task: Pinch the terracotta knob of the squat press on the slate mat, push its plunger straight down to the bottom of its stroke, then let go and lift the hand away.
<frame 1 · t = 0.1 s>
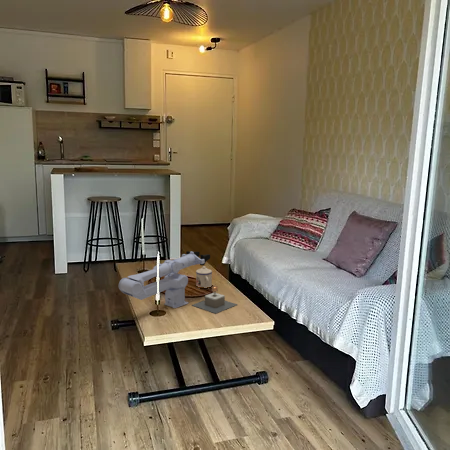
hand: (204, 254, 236), 22 cm above the table, tool horizontal, fingers open, 7 cm apart
teacup with lid: (204, 287, 252), on the table
press: (214, 305, 225), on the table
plunger: (214, 292, 223), point 7 cm above the table, slide at 0.0 cm
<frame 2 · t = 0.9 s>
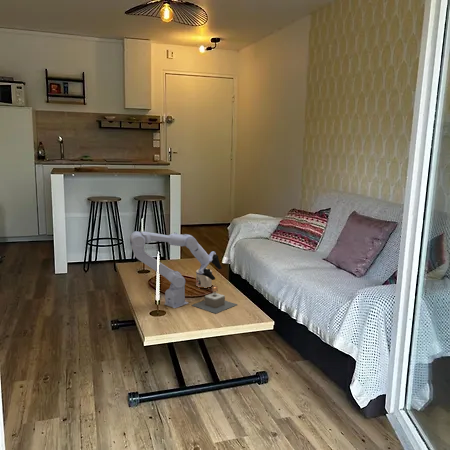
hand: (217, 273, 230), 14 cm above the table, tool tilted 40°, fingers open, 7 cm apart
nothing on the table moved.
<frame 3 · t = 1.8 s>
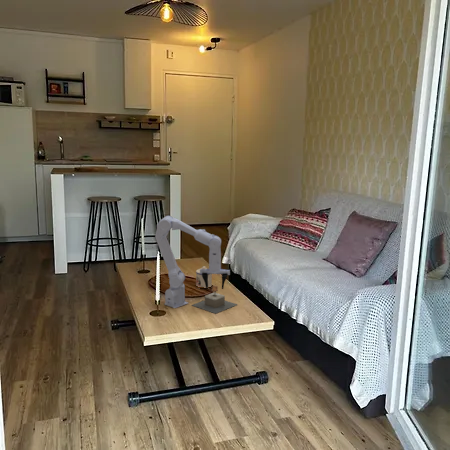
hand: (214, 288, 223), 9 cm above the table, tool pointing down, fingers open, 7 cm apart
nothing on the table moved.
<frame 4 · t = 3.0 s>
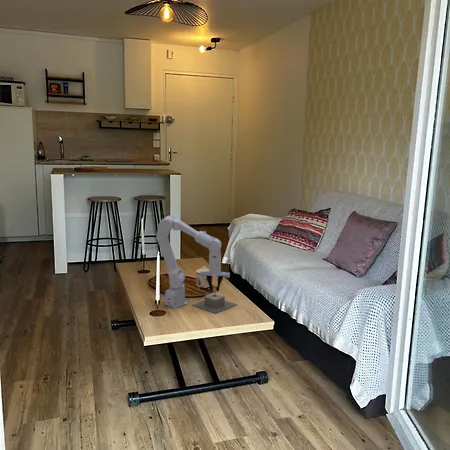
hand: (214, 290, 223), 8 cm above the table, tool pointing down, fingers closed on plunger, 3 cm apart
plunger: (214, 292, 223), point 7 cm above the table, slide at 0.0 cm, touching gripper
everything else where it was.
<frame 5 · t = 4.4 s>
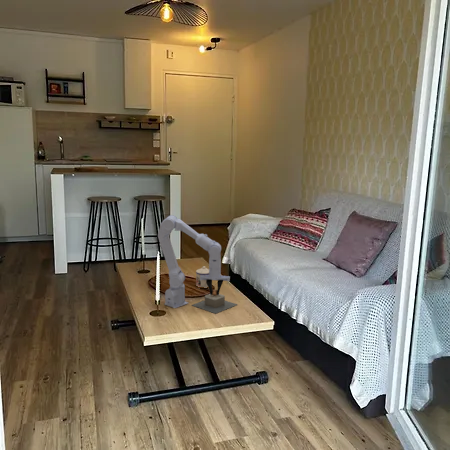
hand: (214, 294, 224), 6 cm above the table, tool pointing down, fingers closed on plunger, 3 cm apart
plunger: (214, 296, 224), point 5 cm above the table, slide at 1.9 cm, touching gripper
everything else where it was.
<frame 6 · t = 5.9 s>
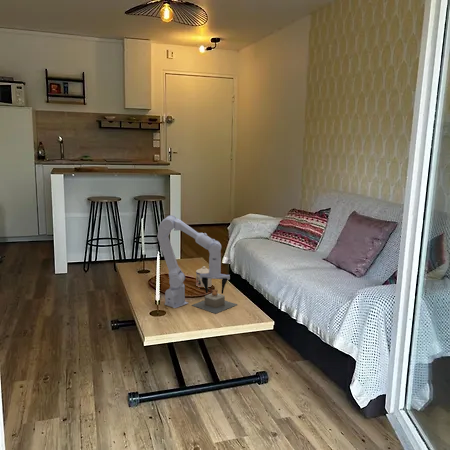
hand: (214, 292, 223), 7 cm above the table, tool pointing down, fingers open, 7 cm apart
plunger: (214, 296, 224), point 5 cm above the table, slide at 1.9 cm
everything else where it was.
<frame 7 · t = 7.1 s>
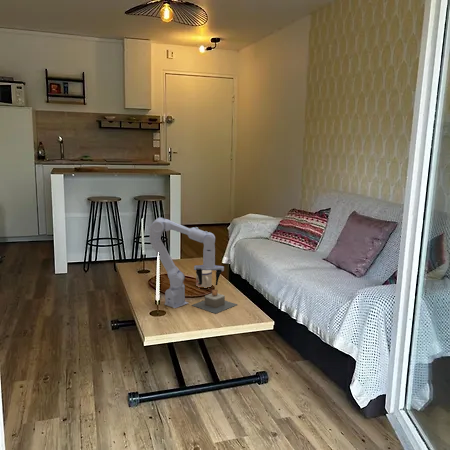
hand: (208, 284, 224), 10 cm above the table, tool pointing down, fingers open, 7 cm apart
nothing on the table moved.
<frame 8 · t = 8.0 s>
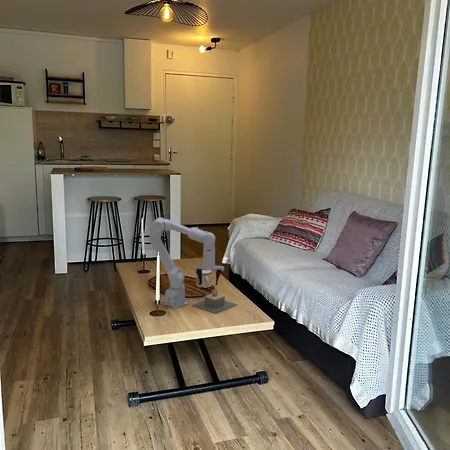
hand: (208, 284, 224), 10 cm above the table, tool pointing down, fingers open, 7 cm apart
nothing on the table moved.
at the end: plunger slide at 1.9 cm; the gripper is holding nothing; teacup with lid moved 0.2 cm from its start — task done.
